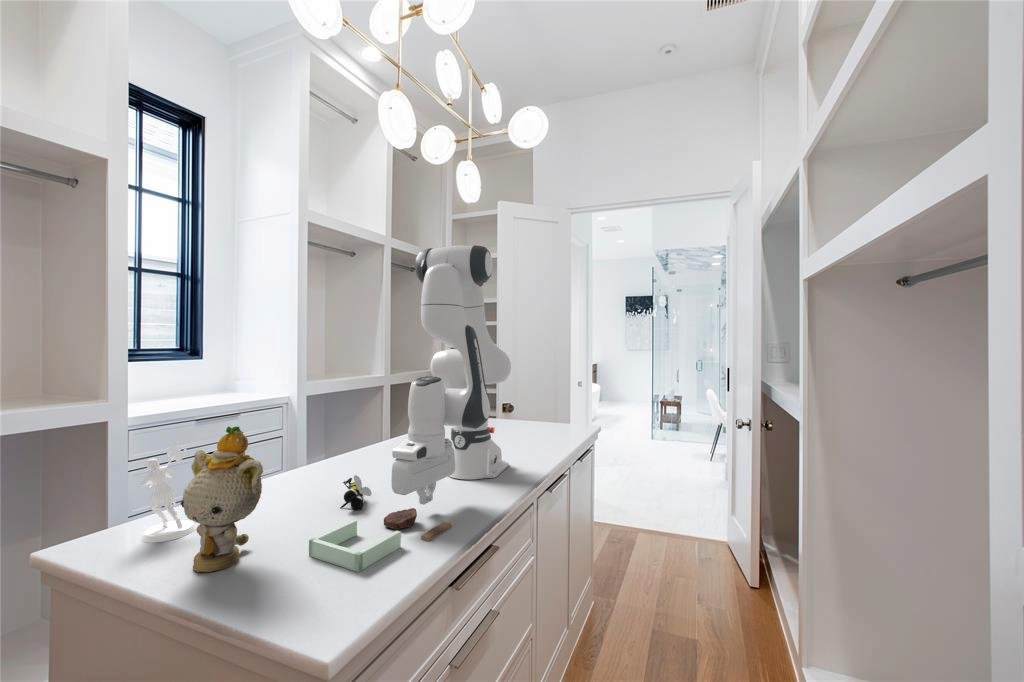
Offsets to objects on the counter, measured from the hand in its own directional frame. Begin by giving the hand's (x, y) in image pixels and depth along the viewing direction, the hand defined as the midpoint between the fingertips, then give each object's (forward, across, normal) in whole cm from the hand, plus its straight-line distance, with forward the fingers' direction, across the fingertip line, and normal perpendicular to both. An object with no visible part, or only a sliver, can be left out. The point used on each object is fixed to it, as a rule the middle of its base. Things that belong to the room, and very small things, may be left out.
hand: (426, 502), depth 105 cm
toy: (+3, +3, -20) cm, 20 cm away
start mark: (+3, +8, +9) cm, 12 cm away
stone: (+3, +8, -1) cm, 9 cm away
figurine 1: (+3, +34, -42) cm, 54 cm away
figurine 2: (+3, +36, -18) cm, 41 cm away
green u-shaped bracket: (+3, +22, 0) cm, 22 cm away
